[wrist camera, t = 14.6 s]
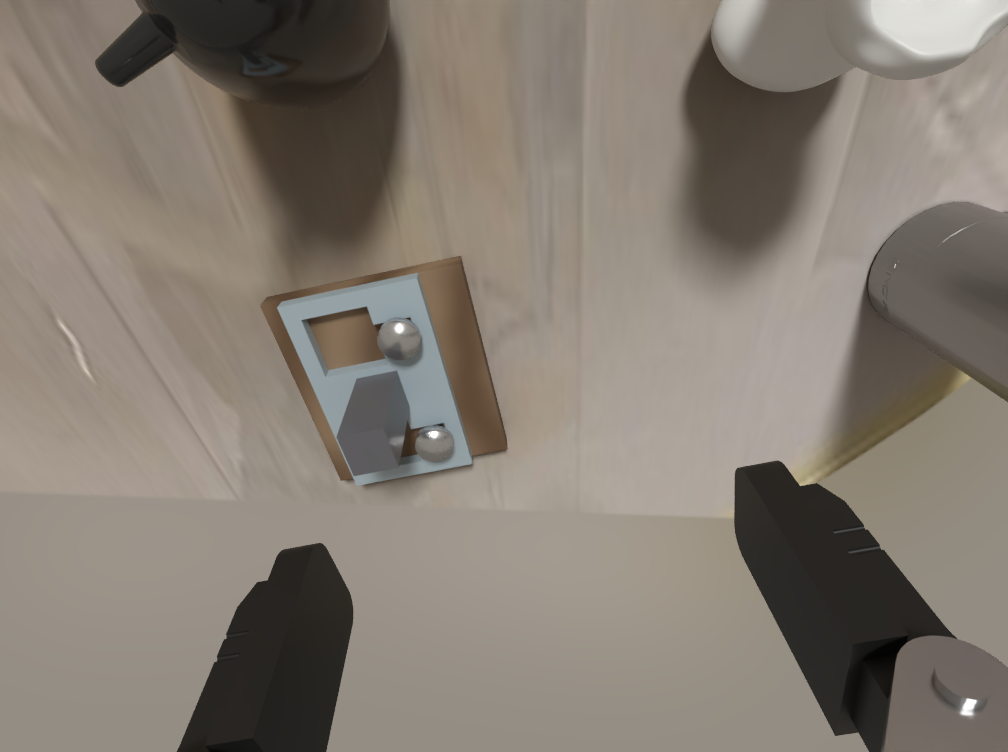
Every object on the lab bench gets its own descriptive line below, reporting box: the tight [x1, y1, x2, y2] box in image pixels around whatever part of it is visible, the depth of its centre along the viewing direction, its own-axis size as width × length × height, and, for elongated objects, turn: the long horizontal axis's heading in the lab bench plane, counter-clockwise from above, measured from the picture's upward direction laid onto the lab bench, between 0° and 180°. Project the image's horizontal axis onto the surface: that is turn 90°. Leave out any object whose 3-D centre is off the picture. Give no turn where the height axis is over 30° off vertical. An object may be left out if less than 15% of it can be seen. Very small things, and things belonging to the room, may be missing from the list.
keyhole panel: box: [277, 273, 473, 486], centre depth 39 cm, size 10×16×8 cm, turn 12°
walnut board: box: [260, 256, 507, 481], centre depth 42 cm, size 14×16×4 cm
